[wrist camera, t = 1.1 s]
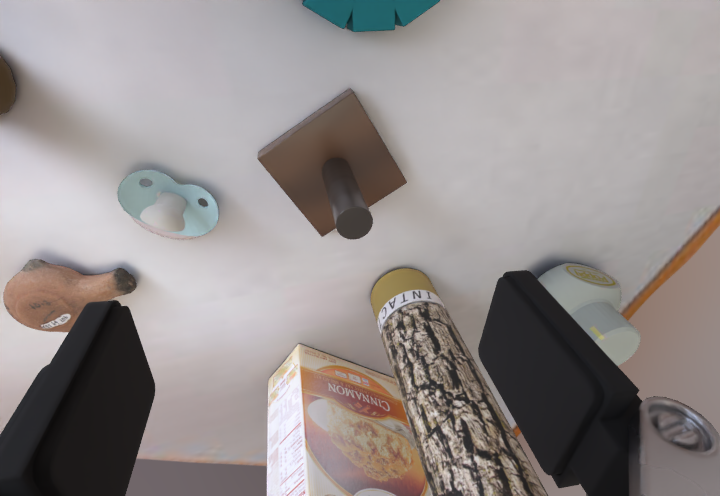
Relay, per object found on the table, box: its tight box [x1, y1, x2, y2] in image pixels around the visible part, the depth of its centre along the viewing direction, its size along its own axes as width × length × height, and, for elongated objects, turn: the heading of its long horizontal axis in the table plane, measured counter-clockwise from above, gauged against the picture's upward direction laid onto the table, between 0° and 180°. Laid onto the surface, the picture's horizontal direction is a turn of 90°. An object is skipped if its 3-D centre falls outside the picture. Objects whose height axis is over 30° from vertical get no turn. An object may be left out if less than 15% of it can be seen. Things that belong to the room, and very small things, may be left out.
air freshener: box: [537, 263, 641, 366], centre depth 43 cm, size 11×8×10 cm
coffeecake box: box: [267, 344, 431, 496], centre depth 41 cm, size 15×7×20 cm, turn 53°
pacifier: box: [118, 170, 219, 240], centre depth 31 cm, size 7×6×6 cm
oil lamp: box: [3, 259, 136, 332], centre depth 34 cm, size 9×4×8 cm
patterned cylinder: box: [371, 268, 548, 496], centre depth 33 cm, size 7×7×25 cm
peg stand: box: [258, 88, 407, 239], centre depth 30 cm, size 9×9×10 cm
